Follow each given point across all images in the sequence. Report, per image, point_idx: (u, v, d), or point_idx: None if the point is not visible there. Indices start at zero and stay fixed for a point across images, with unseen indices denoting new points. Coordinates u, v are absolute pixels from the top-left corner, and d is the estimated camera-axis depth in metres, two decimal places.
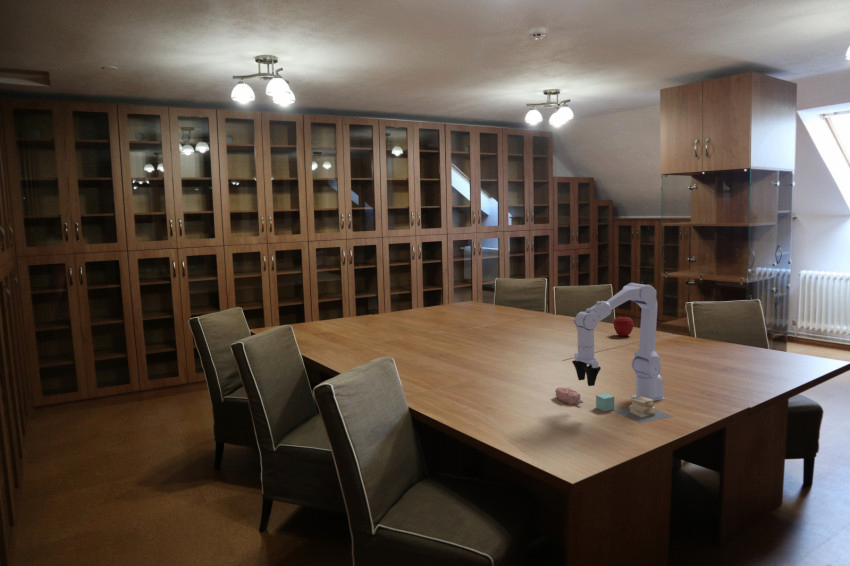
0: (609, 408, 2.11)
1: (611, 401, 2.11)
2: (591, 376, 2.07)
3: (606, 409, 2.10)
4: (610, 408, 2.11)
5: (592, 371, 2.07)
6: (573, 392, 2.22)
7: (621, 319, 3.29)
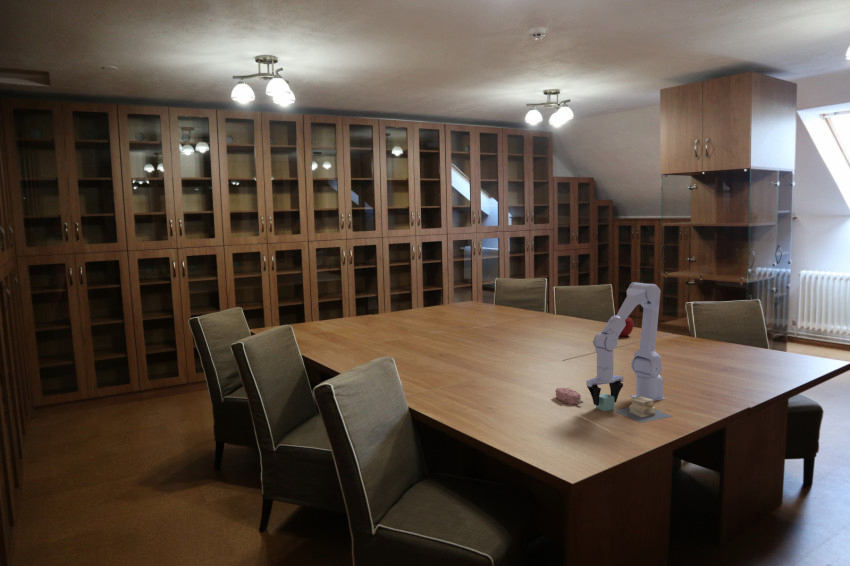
0: (609, 408, 2.11)
1: (611, 401, 2.11)
2: (594, 395, 2.11)
3: (606, 409, 2.10)
4: (610, 408, 2.11)
5: None
6: (573, 392, 2.22)
7: None
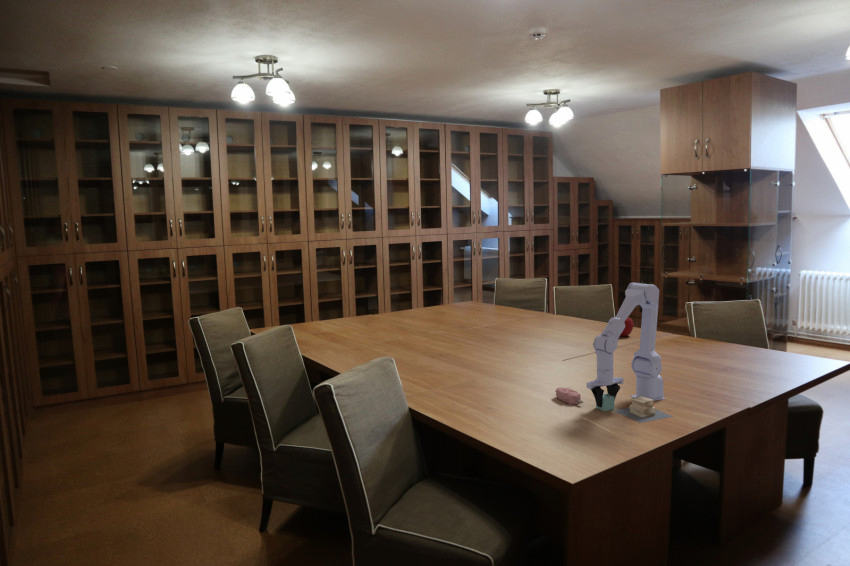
0: (609, 408, 2.11)
1: (611, 401, 2.11)
2: (597, 397, 2.11)
3: (606, 409, 2.10)
4: (610, 408, 2.11)
5: None
6: (573, 392, 2.22)
7: None
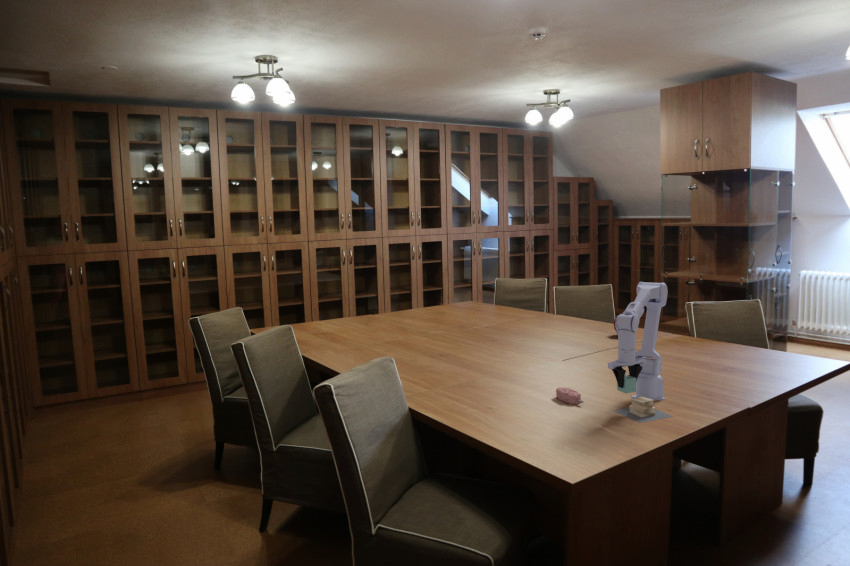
0: (631, 389, 2.06)
1: (633, 382, 2.06)
2: (619, 377, 2.07)
3: (628, 390, 2.06)
4: (632, 389, 2.06)
5: None
6: (573, 392, 2.22)
7: None
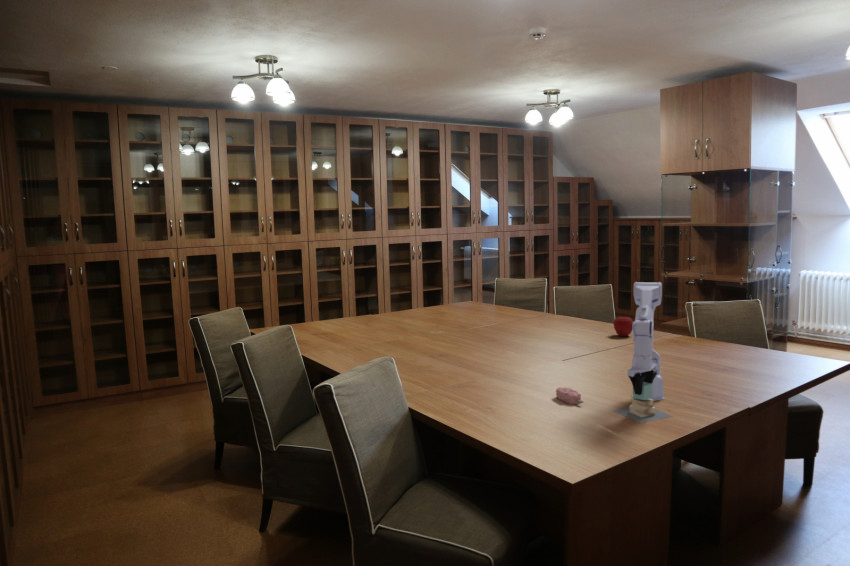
0: (648, 395, 2.04)
1: (649, 388, 2.04)
2: (636, 384, 2.03)
3: (645, 397, 2.03)
4: (648, 395, 2.04)
5: (637, 379, 2.03)
6: (573, 392, 2.22)
7: (621, 319, 3.29)
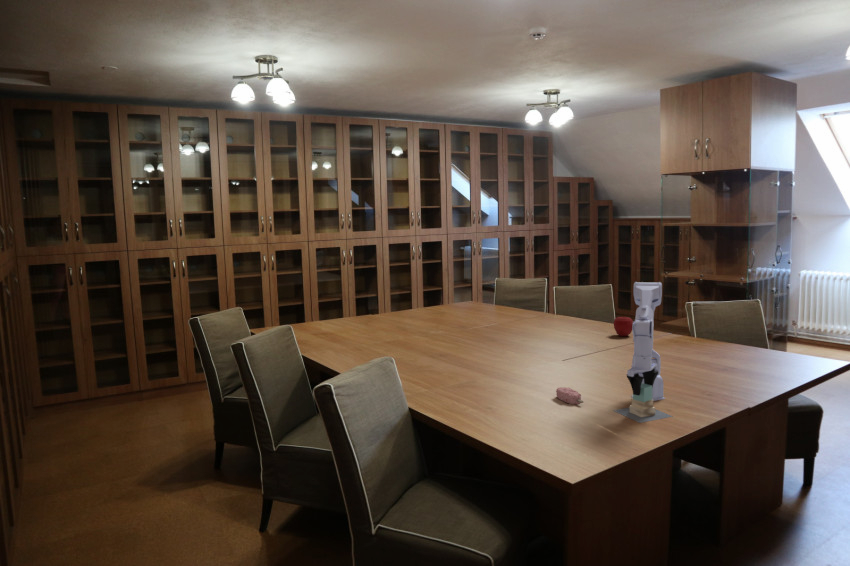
0: (648, 397, 2.04)
1: (649, 390, 2.04)
2: (635, 385, 2.03)
3: (646, 399, 2.03)
4: (649, 397, 2.04)
5: (636, 380, 2.02)
6: (574, 392, 2.22)
7: (621, 319, 3.29)
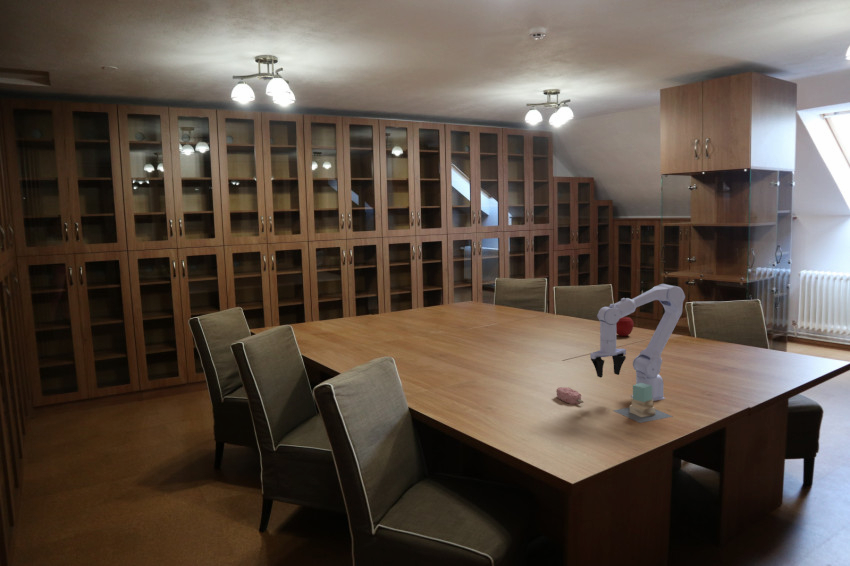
0: (648, 397, 2.04)
1: (649, 390, 2.04)
2: (598, 367, 2.18)
3: (646, 399, 2.03)
4: (649, 397, 2.04)
5: None
6: (574, 392, 2.22)
7: (621, 319, 3.29)
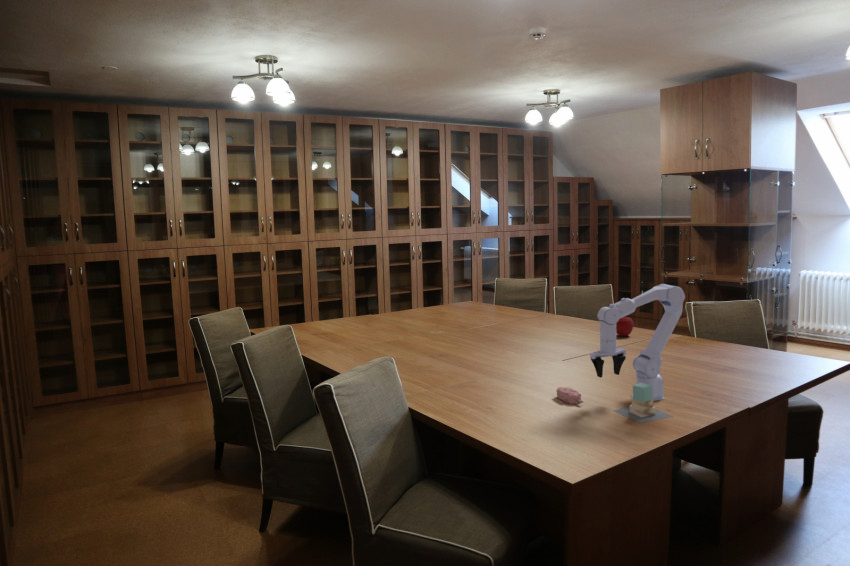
0: (648, 397, 2.04)
1: (649, 390, 2.04)
2: (598, 367, 2.18)
3: (646, 399, 2.03)
4: (649, 397, 2.04)
5: None
6: (574, 392, 2.22)
7: (621, 319, 3.29)
